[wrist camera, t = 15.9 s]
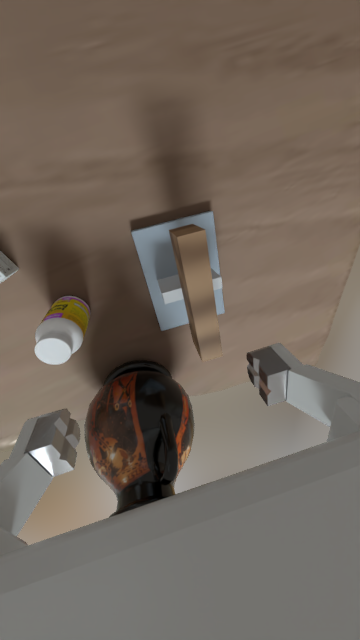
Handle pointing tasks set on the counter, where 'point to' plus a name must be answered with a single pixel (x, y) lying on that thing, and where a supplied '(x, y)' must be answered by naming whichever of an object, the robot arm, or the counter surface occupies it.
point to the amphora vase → (139, 433)
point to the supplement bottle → (62, 330)
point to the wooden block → (197, 288)
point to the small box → (6, 267)
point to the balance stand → (173, 267)
